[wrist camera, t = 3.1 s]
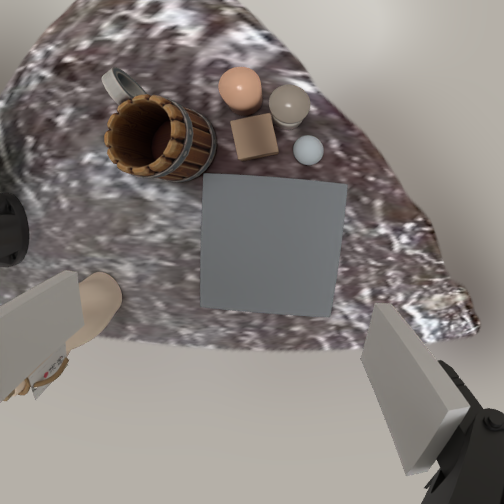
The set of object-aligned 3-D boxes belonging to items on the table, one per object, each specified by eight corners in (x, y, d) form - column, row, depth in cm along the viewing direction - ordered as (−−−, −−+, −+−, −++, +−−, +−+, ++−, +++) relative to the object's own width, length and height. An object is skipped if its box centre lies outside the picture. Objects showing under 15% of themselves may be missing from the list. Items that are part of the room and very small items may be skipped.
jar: (268, 130, 39) (267, 120, 32) (270, 97, 38) (270, 83, 31) (303, 132, 39) (309, 124, 32) (305, 100, 38) (311, 86, 31)
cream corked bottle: (129, 269, 46) (8, 359, 19) (135, 319, 48) (41, 429, 21) (80, 266, 46) (-40, 337, 19) (88, 313, 49) (-12, 400, 21)
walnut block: (242, 161, 41) (238, 159, 36) (235, 127, 39) (230, 121, 35) (277, 154, 40) (278, 151, 35) (270, 120, 39) (270, 112, 34)
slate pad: (201, 305, 46) (200, 306, 46) (204, 173, 41) (203, 173, 41) (329, 315, 45) (330, 317, 45) (346, 184, 40) (347, 184, 40)
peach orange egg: (225, 115, 39) (216, 104, 32) (228, 83, 38) (220, 66, 31) (261, 116, 39) (259, 105, 32) (263, 84, 38) (261, 67, 31)
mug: (232, 156, 40) (210, 145, 26) (171, 196, 42) (123, 207, 28) (178, 73, 38) (138, 33, 23) (123, 113, 40) (65, 94, 25)
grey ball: (291, 164, 40) (293, 162, 36) (293, 136, 39) (295, 131, 35) (320, 167, 40) (324, 165, 36) (321, 139, 39) (326, 135, 35)
